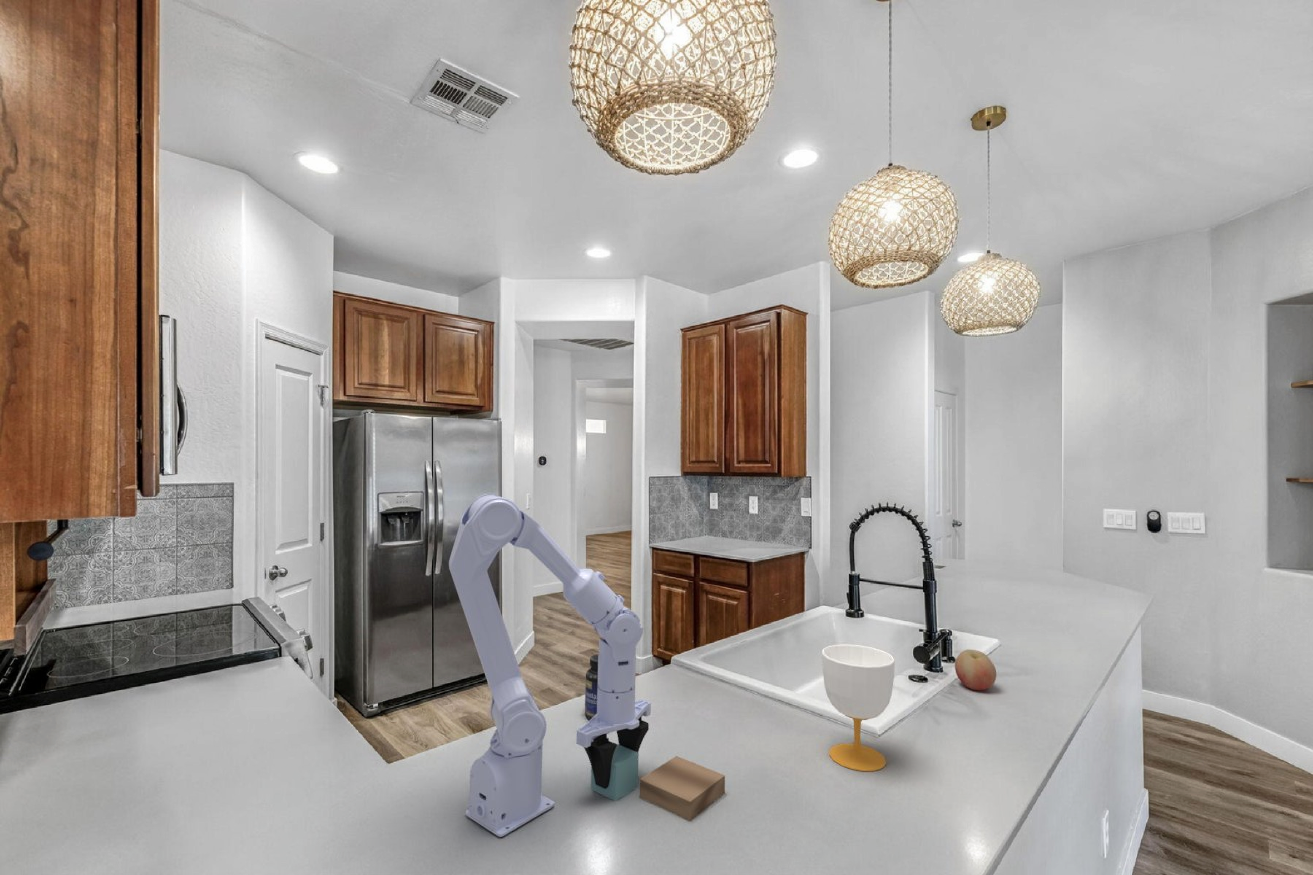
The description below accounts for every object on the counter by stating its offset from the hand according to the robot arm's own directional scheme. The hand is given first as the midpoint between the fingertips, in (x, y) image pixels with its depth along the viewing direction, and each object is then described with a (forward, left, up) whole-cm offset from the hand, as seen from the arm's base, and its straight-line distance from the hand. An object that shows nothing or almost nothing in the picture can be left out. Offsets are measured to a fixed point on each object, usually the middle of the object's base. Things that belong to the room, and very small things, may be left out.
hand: (614, 777), depth 89 cm
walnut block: (+5, -9, -2) cm, 10 cm away
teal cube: (0, 0, -1) cm, 1 cm away
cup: (+33, -25, -2) cm, 41 cm away
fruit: (+82, -34, -2) cm, 89 cm away
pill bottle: (+17, +19, -2) cm, 26 cm away
